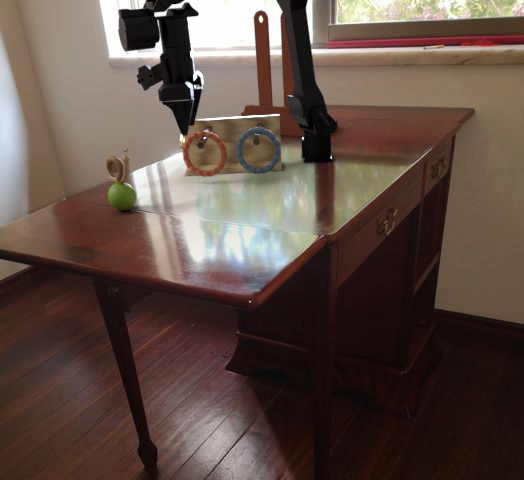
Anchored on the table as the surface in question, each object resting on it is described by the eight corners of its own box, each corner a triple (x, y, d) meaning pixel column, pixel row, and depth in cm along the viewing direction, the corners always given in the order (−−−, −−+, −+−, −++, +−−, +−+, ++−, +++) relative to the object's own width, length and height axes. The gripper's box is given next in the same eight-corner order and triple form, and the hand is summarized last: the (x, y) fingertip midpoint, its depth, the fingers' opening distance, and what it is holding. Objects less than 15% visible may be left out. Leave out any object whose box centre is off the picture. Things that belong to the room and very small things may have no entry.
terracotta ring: (229, 174, 121) (224, 129, 116) (228, 176, 120) (224, 130, 115) (186, 176, 122) (180, 132, 116) (185, 178, 121) (179, 133, 115)
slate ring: (281, 171, 120) (279, 125, 115) (281, 173, 119) (279, 127, 114) (238, 173, 121) (234, 128, 116) (238, 175, 120) (234, 129, 115)
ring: (188, 163, 136) (183, 129, 132) (178, 162, 138) (173, 128, 134) (207, 156, 141) (203, 123, 136) (197, 155, 143) (193, 122, 138)
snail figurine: (129, 216, 107) (116, 152, 100) (105, 212, 110) (91, 150, 103) (148, 207, 110) (136, 145, 104) (124, 203, 114) (112, 143, 107)
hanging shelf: (337, 126, 159) (338, 4, 142) (316, 137, 150) (314, 7, 134) (266, 122, 171) (259, 8, 154) (242, 132, 162) (232, 12, 145)
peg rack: (281, 162, 131) (279, 113, 125) (280, 184, 117) (278, 130, 111) (190, 168, 133) (183, 119, 127) (178, 190, 119) (170, 136, 113)
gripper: (146, 44, 116) (159, 123, 124) (123, 54, 100) (140, 143, 109) (199, 40, 115) (208, 120, 123) (184, 49, 99) (196, 140, 108)
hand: (188, 130), depth 116 cm, fingers open, 9 cm apart
